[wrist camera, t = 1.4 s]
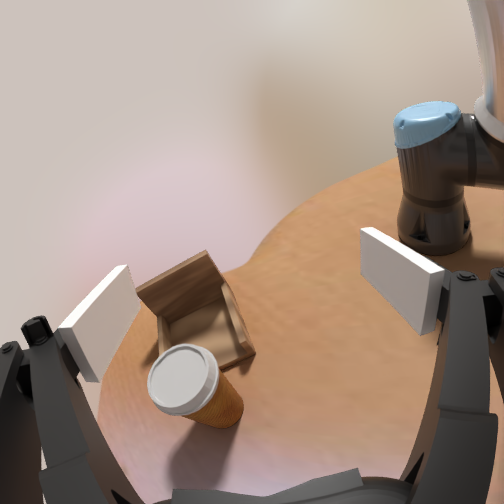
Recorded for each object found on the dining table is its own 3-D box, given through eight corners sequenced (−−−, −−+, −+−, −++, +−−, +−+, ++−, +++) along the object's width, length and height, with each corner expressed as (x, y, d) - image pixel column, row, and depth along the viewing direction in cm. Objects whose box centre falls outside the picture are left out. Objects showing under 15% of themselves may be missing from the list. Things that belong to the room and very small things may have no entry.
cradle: (256, 353, 41) (224, 311, 35) (175, 389, 41) (132, 356, 35) (232, 291, 55) (205, 249, 48) (168, 323, 54) (135, 288, 48)
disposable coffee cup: (243, 371, 40) (203, 328, 33) (263, 423, 32) (221, 393, 25) (190, 394, 40) (142, 358, 33) (202, 446, 32) (147, 421, 25)
